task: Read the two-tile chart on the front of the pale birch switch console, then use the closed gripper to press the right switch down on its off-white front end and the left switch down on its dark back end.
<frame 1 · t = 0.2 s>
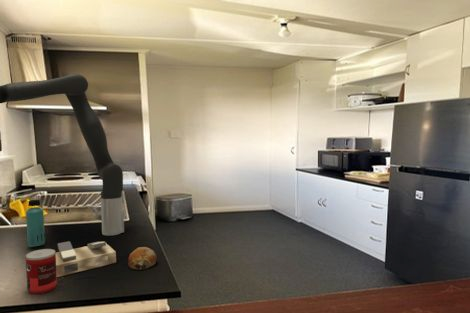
canned food: (42, 288, 98), on the worktop
switch 1: (66, 251, 113), point 6 cm above the worktop, hinge at -14.0°
console: (82, 263, 116), on the worktop
bread roll: (142, 265, 116), on the worktop
switch 2: (96, 245, 119), point 6 cm above the worktop, hinge at 14.0°
beverage bottle: (36, 247, 133), on the worktop
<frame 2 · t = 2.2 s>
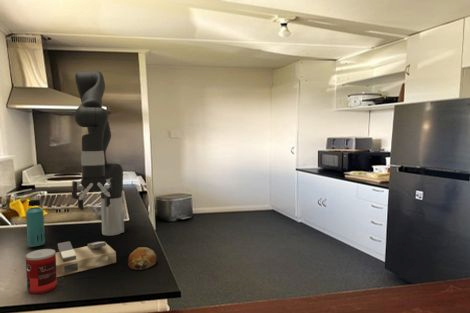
hand: (94, 208, 115), 21 cm above the worktop, tool pointing down, fingers open, 8 cm apart
nothing on the worktop moved.
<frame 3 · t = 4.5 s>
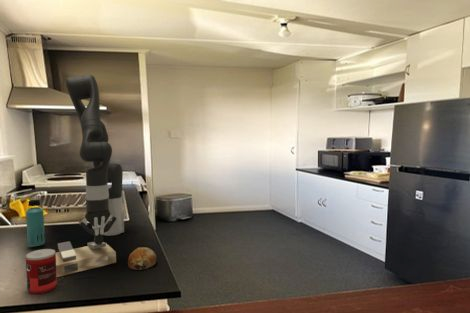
hand: (98, 244, 116), 7 cm above the worktop, tool pointing down, fingers closed
switch 2: (96, 245, 119), point 6 cm above the worktop, hinge at 10.6°, touching gripper
everything else where it was.
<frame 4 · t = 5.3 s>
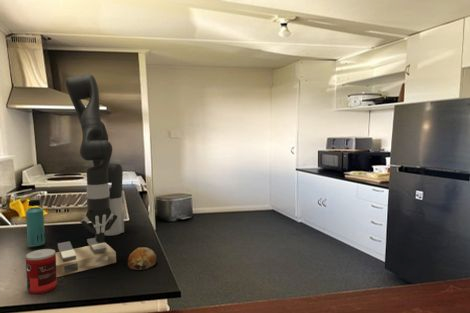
hand: (100, 242, 116), 8 cm above the worktop, tool pointing down, fingers closed
switch 2: (96, 245, 119), point 6 cm above the worktop, hinge at -7.2°
everything else where it was.
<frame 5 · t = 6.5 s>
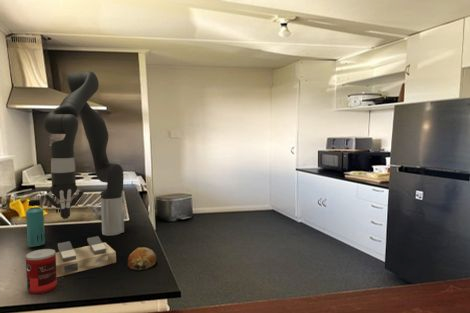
hand: (65, 218, 115), 17 cm above the worktop, tool pointing down, fingers closed
switch 2: (96, 245, 119), point 6 cm above the worktop, hinge at -12.1°
everything else where it was.
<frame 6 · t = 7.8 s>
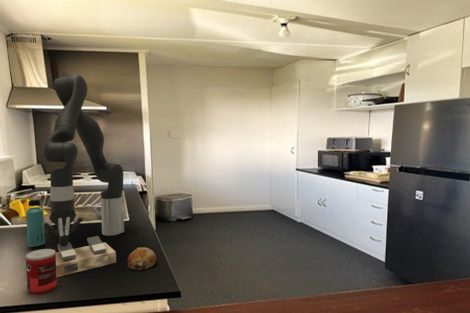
hand: (63, 245, 116), 7 cm above the worktop, tool pointing down, fingers closed
switch 1: (66, 251, 113), point 6 cm above the worktop, hinge at -10.0°, touching gripper
switch 2: (96, 245, 119), point 6 cm above the worktop, hinge at -12.7°
everything else where it was.
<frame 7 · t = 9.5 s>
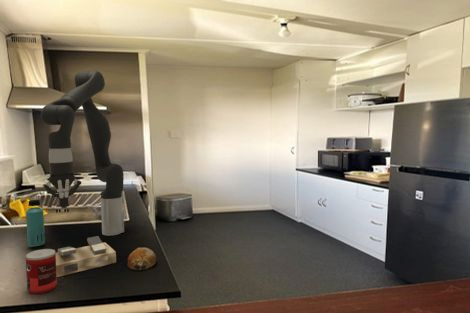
hand: (64, 207, 117), 20 cm above the worktop, tool pointing down, fingers closed
switch 1: (66, 251, 113), point 6 cm above the worktop, hinge at 10.3°
everything else where it was.
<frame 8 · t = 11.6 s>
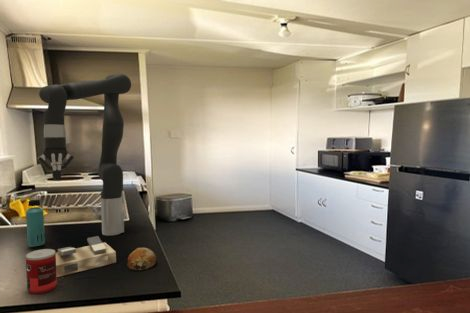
hand: (56, 179, 127), 29 cm above the worktop, tool pointing down, fingers closed
switch 1: (66, 251, 113), point 6 cm above the worktop, hinge at 11.2°
everything else where it was.
at the end: switch 2 at -13° (first picture: +14°); switch 1 at +11° (first picture: -14°) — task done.
